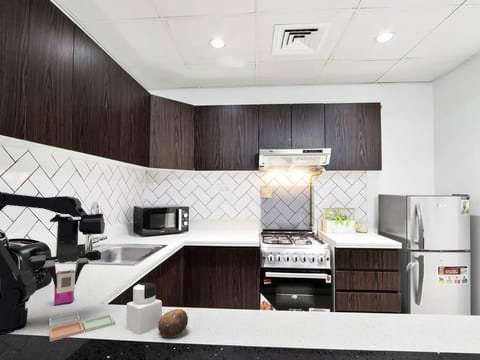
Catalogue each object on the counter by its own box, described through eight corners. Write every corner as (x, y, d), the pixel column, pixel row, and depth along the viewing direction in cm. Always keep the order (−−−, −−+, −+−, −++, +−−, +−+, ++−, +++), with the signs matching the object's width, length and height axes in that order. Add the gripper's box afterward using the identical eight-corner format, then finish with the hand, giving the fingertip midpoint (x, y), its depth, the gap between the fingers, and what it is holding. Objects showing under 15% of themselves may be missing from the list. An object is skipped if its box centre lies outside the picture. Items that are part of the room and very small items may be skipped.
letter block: (56, 293, 79) (57, 274, 80) (56, 290, 83) (57, 271, 84) (74, 290, 82) (75, 271, 83) (73, 287, 86) (74, 269, 86)
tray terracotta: (49, 343, 68) (49, 338, 68) (49, 332, 74) (49, 328, 74) (83, 334, 73) (83, 329, 73) (80, 325, 79) (80, 320, 79)
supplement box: (56, 301, 102) (57, 271, 103) (74, 299, 104) (75, 269, 105) (53, 306, 96) (54, 274, 98) (72, 303, 99) (73, 271, 100)
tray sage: (85, 333, 73) (85, 329, 73) (82, 324, 79) (82, 320, 79) (115, 325, 77) (115, 321, 77) (110, 318, 83) (110, 314, 83)
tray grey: (49, 330, 76) (49, 325, 76) (49, 321, 82) (49, 317, 82) (80, 322, 81) (80, 318, 81) (77, 315, 87) (77, 311, 87)
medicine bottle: (148, 320, 80) (148, 279, 82) (162, 326, 76) (162, 283, 77) (125, 329, 75) (126, 285, 76) (139, 336, 70) (139, 289, 72)
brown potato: (182, 311, 78) (176, 298, 75) (197, 329, 72) (191, 315, 69) (158, 331, 74) (150, 318, 71) (171, 352, 68) (164, 339, 65)
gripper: (29, 240, 72) (25, 299, 71) (104, 234, 83) (103, 286, 82) (31, 237, 81) (27, 290, 80) (98, 233, 92) (97, 279, 90)
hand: (65, 286), depth 83 cm, fingers closed on letter block, 4 cm apart
